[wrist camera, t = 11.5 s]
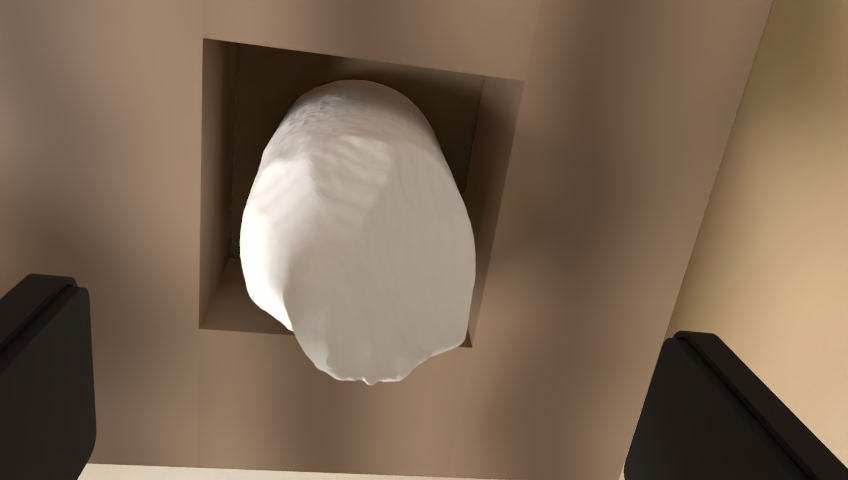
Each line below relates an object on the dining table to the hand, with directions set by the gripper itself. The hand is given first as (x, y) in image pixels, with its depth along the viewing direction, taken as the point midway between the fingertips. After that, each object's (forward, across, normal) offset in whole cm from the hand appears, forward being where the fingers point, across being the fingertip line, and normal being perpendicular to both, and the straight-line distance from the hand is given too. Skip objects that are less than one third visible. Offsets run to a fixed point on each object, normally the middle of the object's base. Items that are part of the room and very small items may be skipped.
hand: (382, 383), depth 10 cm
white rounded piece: (+13, +1, 0) cm, 13 cm away
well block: (+13, +1, 0) cm, 13 cm away
